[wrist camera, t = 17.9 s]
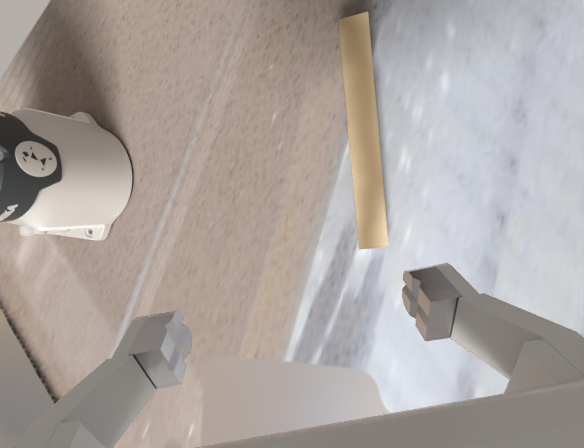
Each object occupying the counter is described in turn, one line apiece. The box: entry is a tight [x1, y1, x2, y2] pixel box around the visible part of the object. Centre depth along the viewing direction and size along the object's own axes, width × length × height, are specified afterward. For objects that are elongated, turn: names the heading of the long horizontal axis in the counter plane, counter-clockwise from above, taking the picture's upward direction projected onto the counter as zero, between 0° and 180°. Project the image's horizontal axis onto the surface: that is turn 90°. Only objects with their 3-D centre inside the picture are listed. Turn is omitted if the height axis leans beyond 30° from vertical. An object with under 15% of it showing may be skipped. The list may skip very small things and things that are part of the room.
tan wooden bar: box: [338, 11, 389, 249], centre depth 30 cm, size 3×24×3 cm, turn 6°
